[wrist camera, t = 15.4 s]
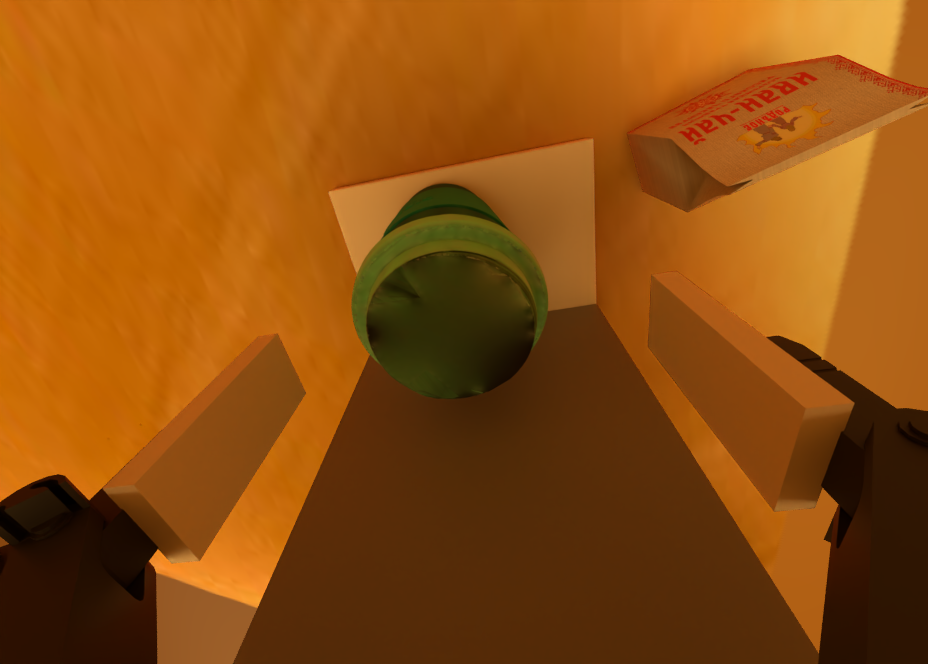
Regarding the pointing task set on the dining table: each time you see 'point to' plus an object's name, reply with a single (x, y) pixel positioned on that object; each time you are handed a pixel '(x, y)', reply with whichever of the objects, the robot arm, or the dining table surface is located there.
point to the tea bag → (763, 126)
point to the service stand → (517, 489)
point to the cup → (449, 296)
